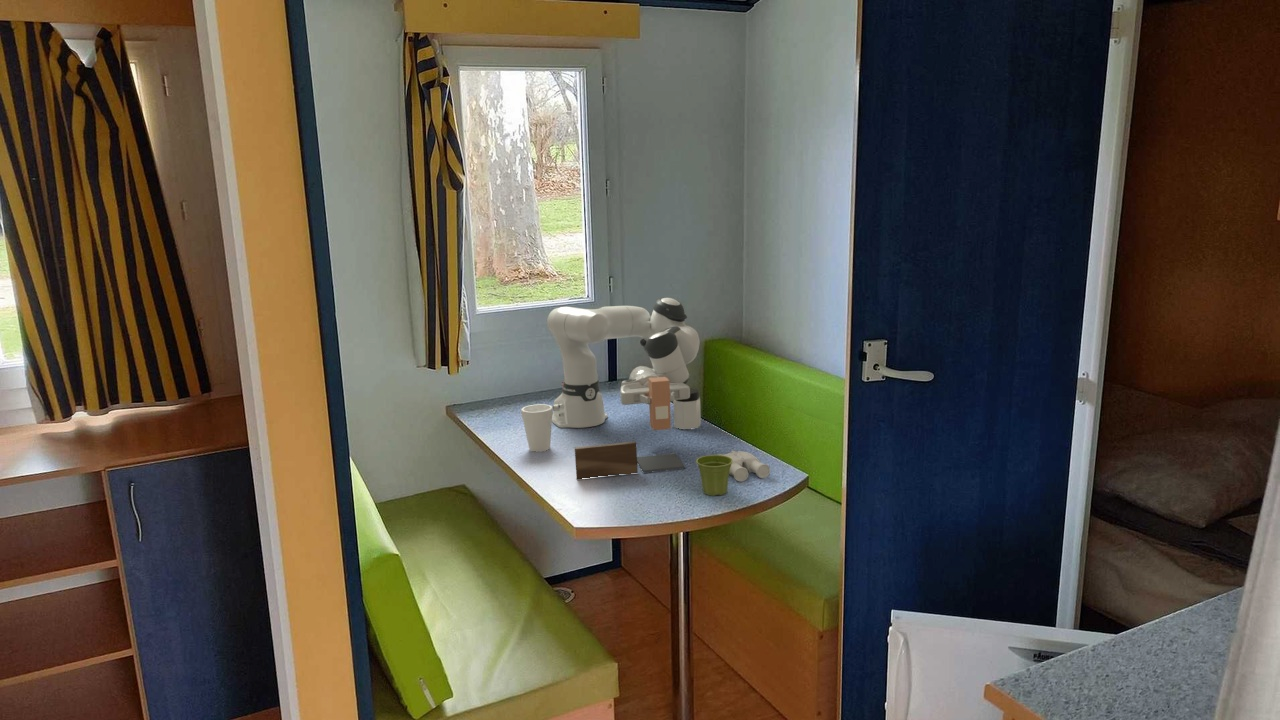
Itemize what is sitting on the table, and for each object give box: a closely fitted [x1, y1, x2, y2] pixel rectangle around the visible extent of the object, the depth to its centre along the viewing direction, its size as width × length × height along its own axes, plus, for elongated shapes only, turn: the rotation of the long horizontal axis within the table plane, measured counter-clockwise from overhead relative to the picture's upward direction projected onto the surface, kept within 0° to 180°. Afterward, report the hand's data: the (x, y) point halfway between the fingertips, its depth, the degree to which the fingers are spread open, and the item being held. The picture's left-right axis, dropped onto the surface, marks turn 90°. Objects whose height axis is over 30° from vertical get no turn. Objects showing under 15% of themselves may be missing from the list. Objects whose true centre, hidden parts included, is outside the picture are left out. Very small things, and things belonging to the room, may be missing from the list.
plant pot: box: [695, 454, 733, 496], centre depth 232 cm, size 9×9×9 cm
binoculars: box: [718, 450, 771, 483], centre depth 248 cm, size 10×16×5 cm, turn 17°
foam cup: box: [520, 403, 554, 453], centre depth 275 cm, size 10×9×13 cm
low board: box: [574, 441, 639, 480], centre depth 248 cm, size 2×17×9 cm, turn 100°
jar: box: [672, 387, 702, 430], centre depth 291 cm, size 9×8×12 cm
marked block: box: [648, 377, 672, 431], centre depth 253 cm, size 5×5×14 cm
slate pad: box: [637, 452, 686, 473], centre depth 257 cm, size 12×12×1 cm
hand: (660, 400), depth 252 cm, fingers closed on marked block, 5 cm apart
